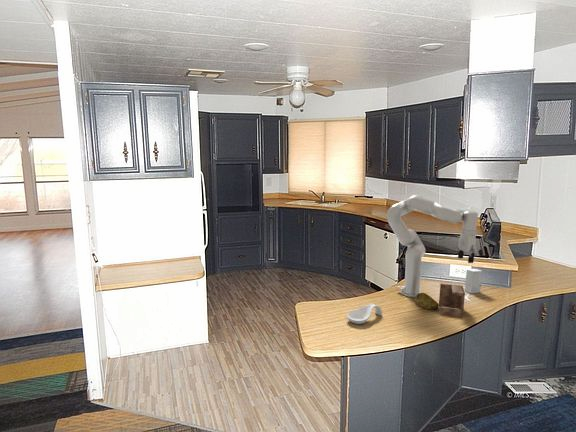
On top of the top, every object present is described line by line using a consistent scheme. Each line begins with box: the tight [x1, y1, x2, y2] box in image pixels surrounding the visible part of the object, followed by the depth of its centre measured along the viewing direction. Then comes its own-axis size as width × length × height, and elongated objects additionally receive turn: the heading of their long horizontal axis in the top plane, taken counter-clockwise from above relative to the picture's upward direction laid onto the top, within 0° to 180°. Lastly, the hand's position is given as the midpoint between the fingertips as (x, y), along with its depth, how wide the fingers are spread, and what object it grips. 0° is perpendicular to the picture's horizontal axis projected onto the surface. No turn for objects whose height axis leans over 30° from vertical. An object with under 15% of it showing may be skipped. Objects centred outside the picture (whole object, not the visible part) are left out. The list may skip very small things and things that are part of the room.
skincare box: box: [464, 268, 483, 294], centre depth 275 cm, size 8×6×15 cm
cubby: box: [438, 282, 466, 318], centre depth 241 cm, size 12×14×14 cm
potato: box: [415, 292, 440, 311], centre depth 245 cm, size 8×13×8 cm, turn 29°
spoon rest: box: [346, 303, 383, 325], centre depth 227 cm, size 24×12×7 cm, turn 130°
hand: (465, 260), depth 249 cm, fingers open, 9 cm apart
